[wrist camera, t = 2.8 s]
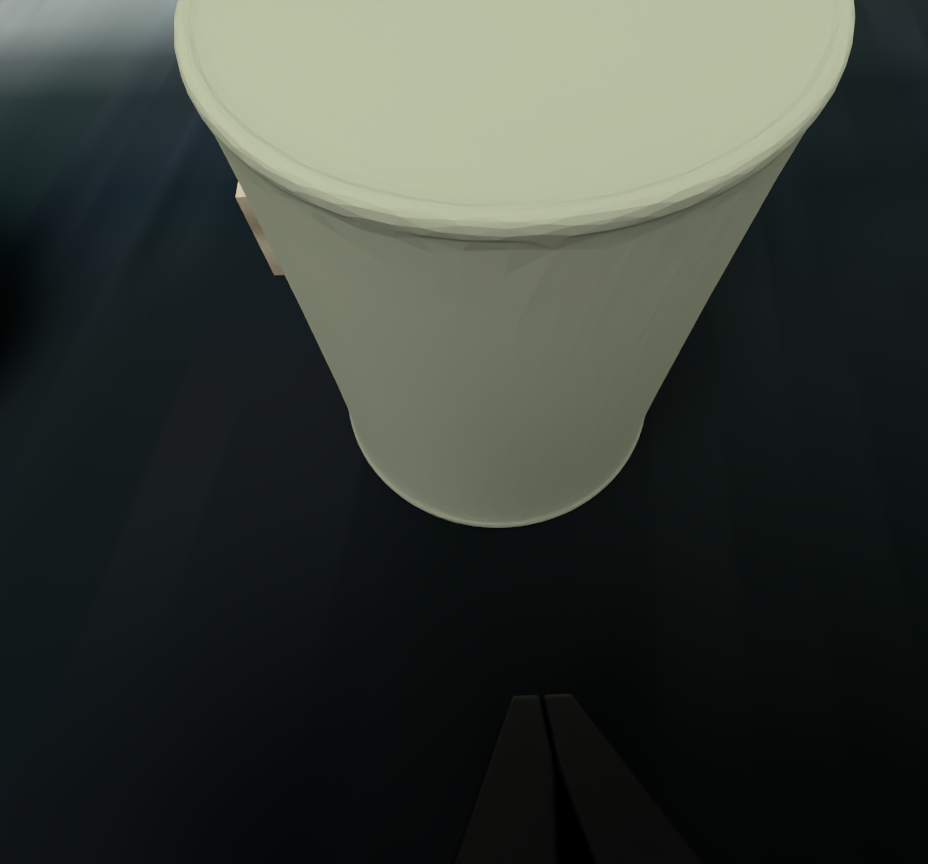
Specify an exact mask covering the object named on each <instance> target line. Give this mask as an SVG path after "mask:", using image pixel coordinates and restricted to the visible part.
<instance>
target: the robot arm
mask: <svg viewBox="0 0 928 864" xmlns="http://www.w3.org/2000/svg"><path fill="white" fill-rule="evenodd" d="M452 864H706V863H705V862H704V861H703V859H702V858H701V857H700V856H699V854H698V853H697V852H696V850H695V849H694V848H693V847H692V845H691V844H690V843H689V842H688V840H687V839H686V838H685V837H684V835H683V834H682V833H681V831H680V830H679V829H678V828H677V826H676V825H675V824H674V823H673V821H672V820H671V819H670V817H669V816H668V815H667V814H666V812H665V811H664V810H663V809H662V807H661V806H660V805H659V804H658V802H657V801H656V800H655V798H654V797H653V796H652V795H651V793H650V792H649V791H648V790H647V788H646V787H645V786H644V785H643V783H642V782H641V781H640V779H639V778H638V777H637V776H636V774H635V773H634V772H633V771H632V769H631V768H630V767H629V766H628V764H627V763H626V762H625V760H624V759H623V758H622V757H621V755H620V754H619V753H618V752H617V750H616V749H615V748H614V747H613V745H612V744H611V743H610V741H609V740H608V739H607V738H606V736H605V735H604V734H603V733H602V731H601V730H600V729H599V728H598V726H597V725H596V724H595V722H594V721H593V720H592V719H591V717H590V716H589V715H588V714H587V712H586V711H585V710H584V709H583V707H582V706H581V705H580V703H579V702H578V701H577V700H576V698H575V697H574V696H573V695H571V694H568V693H564V694H546V695H544V696H543V698H542V699H541V697H540V696H538V695H517V696H513V697H512V698H511V699H510V701H509V704H508V707H507V710H506V712H505V715H504V718H503V721H502V724H501V726H500V729H499V732H498V735H497V738H496V740H495V743H494V746H493V749H492V752H491V754H490V757H489V760H488V763H487V766H486V769H485V771H484V774H483V777H482V780H481V783H480V785H479V788H478V791H477V794H476V797H475V799H474V802H473V805H472V808H471V811H470V813H469V816H468V819H467V822H466V825H465V828H464V830H463V833H462V836H461V839H460V842H459V844H458V847H457V850H456V853H455V856H454V858H453V861H452Z"/></svg>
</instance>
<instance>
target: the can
mask: <svg viewBox="0 0 928 864" xmlns="http://www.w3.org/2000/svg"><path fill="white" fill-rule="evenodd" d="M854 23H855V9H854V0H178V2H177V6H176V11H175V18H174V48H175V52H176V57H177V61H178V65H179V69H180V73H181V77H182V80H183V83H184V85H185V88H186V90H187V93H188V95H189V97H190V99H191V100H192V102H193V104H194V106H195V107H196V109H197V111H198V113H199V114H200V116H201V118H202V119H203V121H204V122H205V123H206V125H207V126H208V127H209V129H210V130H211V131H212V133H213V134H214V135H215V137H216V139H217V141H218V143H219V145H220V147H221V149H222V150H223V152H224V154H225V156H226V158H227V160H228V162H229V164H230V166H231V168H232V170H233V172H234V173H235V175H236V177H237V179H238V181H239V183H240V185H241V187H242V189H243V191H244V193H245V195H246V197H247V199H248V201H249V203H250V205H251V207H252V209H253V211H254V213H255V215H256V218H257V220H258V222H259V224H260V226H261V228H262V230H263V232H264V234H265V236H266V238H267V240H268V242H269V244H270V246H271V248H272V250H273V252H274V254H275V256H276V258H277V260H278V262H279V264H280V266H281V268H282V270H283V272H284V274H285V276H286V279H287V281H288V283H289V285H290V287H291V289H292V291H293V293H294V295H295V297H296V299H297V301H298V303H299V305H300V307H301V309H302V311H303V313H304V315H305V317H306V319H307V322H308V324H309V326H310V328H311V330H312V332H313V334H314V336H315V338H316V340H317V343H318V345H319V347H320V349H321V351H322V353H323V355H324V357H325V359H326V362H327V364H328V366H329V368H330V370H331V372H332V374H333V376H334V378H335V381H336V383H337V385H338V387H339V389H340V391H341V394H342V396H343V398H344V400H345V403H346V405H347V407H348V410H349V414H350V419H351V423H352V427H353V431H354V433H355V436H356V439H357V442H358V444H359V446H360V448H361V450H362V452H363V454H364V456H365V458H366V459H367V461H368V462H369V464H370V465H371V467H372V468H373V469H374V471H375V472H376V473H377V474H378V475H379V477H380V478H381V479H382V480H383V481H384V482H385V483H386V484H387V485H388V486H389V487H390V488H391V489H392V490H393V491H395V492H396V493H397V494H399V495H400V496H401V497H402V498H404V499H405V500H407V501H408V502H410V503H411V504H413V505H414V506H416V507H418V508H420V509H422V510H424V511H426V512H428V513H430V514H432V515H435V516H437V517H439V518H443V519H446V520H449V521H452V522H455V523H460V524H465V525H470V526H477V527H490V528H507V527H518V526H525V525H530V524H535V523H539V522H543V521H546V520H549V519H553V518H555V517H558V516H560V515H563V514H565V513H567V512H569V511H571V510H573V509H575V508H577V507H579V506H580V505H582V504H584V503H585V502H587V501H588V500H590V499H591V498H593V497H594V496H595V495H597V494H598V493H599V492H600V491H602V490H603V489H604V488H605V487H606V486H607V485H608V484H609V483H610V482H611V481H612V480H613V479H614V478H615V477H616V475H617V474H618V473H619V472H620V471H621V469H622V468H623V466H624V465H625V463H626V462H627V460H628V459H629V457H630V455H631V454H632V452H633V450H634V448H635V445H636V443H637V441H638V439H639V436H640V433H641V429H642V426H643V422H644V418H645V415H646V413H647V411H648V409H649V407H650V405H651V403H652V402H653V400H654V398H655V396H656V394H657V392H658V390H659V388H660V386H661V385H662V383H663V381H664V379H665V377H666V375H667V374H668V372H669V370H670V368H671V366H672V364H673V363H674V361H675V359H676V357H677V355H678V353H679V352H680V350H681V348H682V346H683V344H684V342H685V341H686V339H687V337H688V335H689V333H690V331H691V330H692V328H693V326H694V324H695V322H696V320H697V319H698V317H699V315H700V313H701V311H702V309H703V308H704V306H705V304H706V302H707V300H708V298H709V297H710V295H711V293H712V291H713V290H714V288H715V286H716V284H717V283H718V281H719V279H720V277H721V276H722V274H723V272H724V270H725V269H726V267H727V265H728V263H729V261H730V260H731V258H732V256H733V254H734V253H735V251H736V249H737V247H738V246H739V244H740V242H741V240H742V239H743V237H744V235H745V233H746V232H747V230H748V228H749V226H750V225H751V223H752V221H753V219H754V217H755V216H756V214H757V212H758V210H759V209H760V207H761V205H762V203H763V202H764V200H765V198H766V196H767V195H768V193H769V191H770V189H771V188H772V186H773V184H774V182H775V180H776V179H777V177H778V175H779V174H780V172H781V170H782V169H783V167H784V165H785V164H786V162H787V161H788V159H789V157H790V156H791V154H792V152H793V151H794V149H795V147H796V146H797V144H798V143H799V141H800V139H801V138H802V136H803V134H804V133H805V131H806V130H807V129H808V127H809V126H810V125H811V124H812V123H813V122H814V121H815V120H816V118H817V117H818V115H819V114H820V112H821V111H822V109H823V108H824V107H825V105H826V104H827V102H828V101H829V99H830V98H831V96H832V95H833V93H834V91H835V89H836V87H837V85H838V82H839V80H840V78H841V76H842V74H843V71H844V69H845V67H846V64H847V60H848V57H849V53H850V50H851V47H852V41H853V32H854Z"/></svg>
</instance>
